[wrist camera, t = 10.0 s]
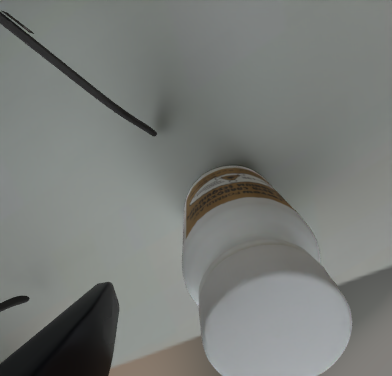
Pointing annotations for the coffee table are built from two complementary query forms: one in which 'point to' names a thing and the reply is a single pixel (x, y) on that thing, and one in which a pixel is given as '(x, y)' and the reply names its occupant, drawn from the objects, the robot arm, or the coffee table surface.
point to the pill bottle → (259, 280)
